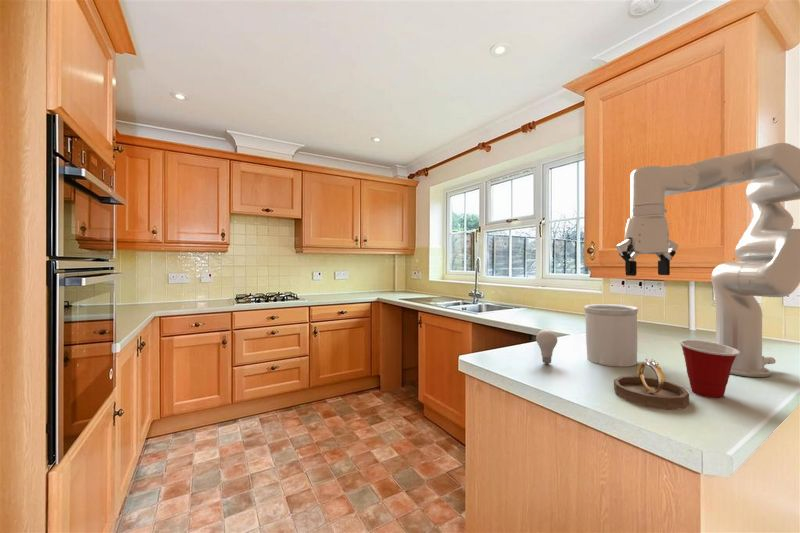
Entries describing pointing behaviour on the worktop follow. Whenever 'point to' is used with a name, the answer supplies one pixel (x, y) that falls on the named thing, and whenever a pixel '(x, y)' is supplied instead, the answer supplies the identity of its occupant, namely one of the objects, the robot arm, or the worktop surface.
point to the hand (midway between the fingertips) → (647, 275)
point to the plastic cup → (708, 366)
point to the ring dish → (664, 399)
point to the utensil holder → (611, 334)
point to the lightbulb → (546, 344)
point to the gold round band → (657, 371)
